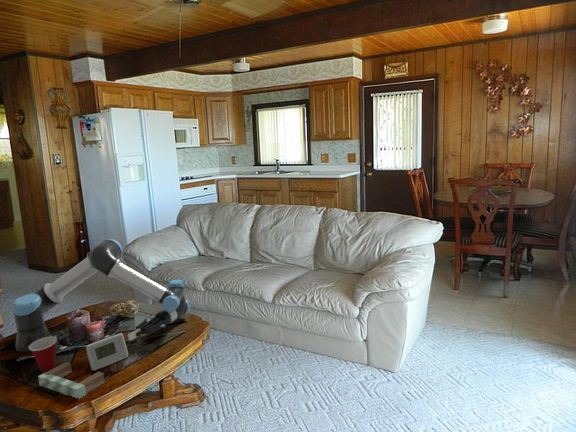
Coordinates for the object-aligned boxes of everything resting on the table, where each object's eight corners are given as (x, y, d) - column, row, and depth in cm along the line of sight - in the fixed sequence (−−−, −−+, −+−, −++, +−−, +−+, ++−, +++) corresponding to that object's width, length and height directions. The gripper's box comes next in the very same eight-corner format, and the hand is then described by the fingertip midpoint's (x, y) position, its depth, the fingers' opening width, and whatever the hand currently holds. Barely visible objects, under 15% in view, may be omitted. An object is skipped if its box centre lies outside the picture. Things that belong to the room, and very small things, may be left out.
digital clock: (90, 373, 183) (86, 349, 181) (87, 364, 191) (83, 341, 189) (130, 360, 191) (127, 337, 189) (126, 352, 199) (123, 330, 197)
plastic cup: (28, 370, 188) (23, 344, 186) (53, 359, 197) (48, 334, 194) (41, 377, 182) (36, 350, 180) (66, 365, 191) (62, 339, 188)
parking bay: (39, 385, 176) (37, 376, 175) (66, 370, 186) (65, 361, 186) (79, 399, 165) (77, 389, 164) (105, 382, 175) (104, 373, 174)
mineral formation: (138, 318, 236) (108, 320, 233) (139, 312, 249) (111, 315, 245) (137, 303, 236) (107, 305, 232) (139, 298, 249) (110, 300, 245)
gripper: (155, 308, 223) (117, 327, 202) (174, 311, 217) (138, 332, 196) (156, 322, 224) (120, 342, 204) (176, 326, 218) (140, 347, 198)
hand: (129, 337), depth 200 cm, fingers closed
